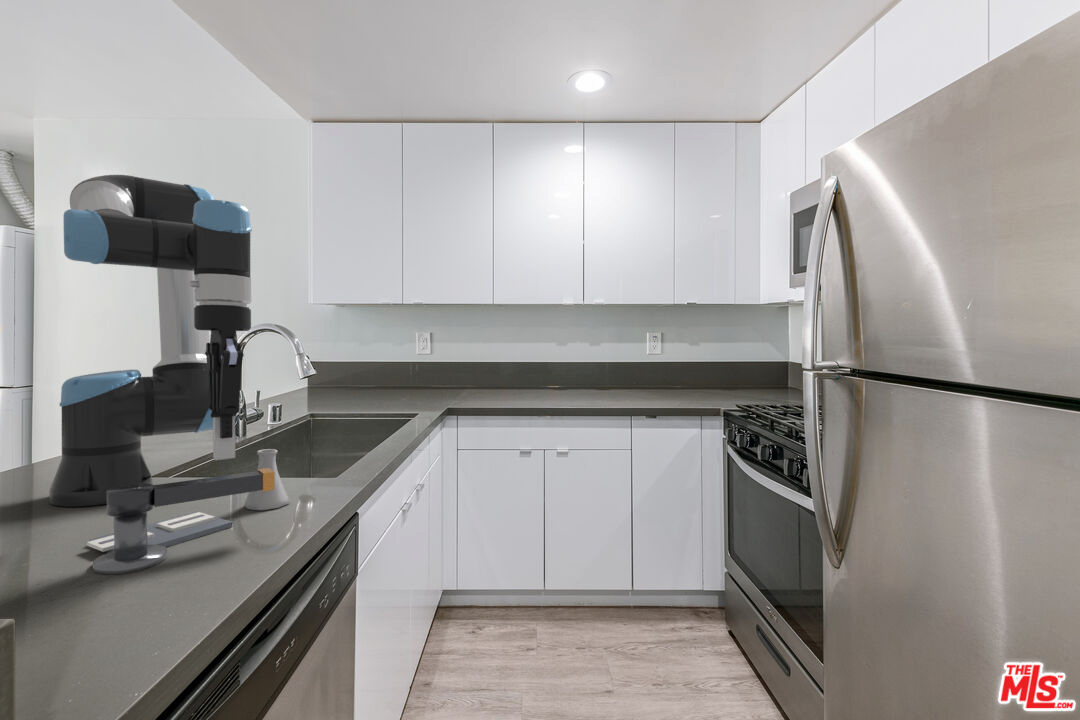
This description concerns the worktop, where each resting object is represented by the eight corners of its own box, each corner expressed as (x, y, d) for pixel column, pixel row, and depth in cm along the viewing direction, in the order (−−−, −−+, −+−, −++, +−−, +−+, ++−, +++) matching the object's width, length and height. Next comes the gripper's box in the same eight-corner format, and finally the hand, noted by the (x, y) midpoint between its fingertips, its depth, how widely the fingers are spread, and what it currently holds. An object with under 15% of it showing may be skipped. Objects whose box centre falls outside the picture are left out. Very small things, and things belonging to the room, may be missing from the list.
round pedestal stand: (80, 566, 72) (80, 517, 71) (148, 546, 79) (147, 501, 78) (111, 579, 68) (111, 528, 68) (179, 557, 75) (179, 511, 75)
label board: (79, 547, 78) (79, 538, 78) (196, 516, 92) (196, 507, 92) (115, 562, 73) (115, 552, 73) (232, 526, 87) (232, 518, 87)
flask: (259, 514, 94) (259, 456, 93) (236, 506, 98) (236, 451, 97) (297, 503, 100) (297, 449, 99) (274, 497, 104) (274, 445, 103)
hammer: (108, 519, 70) (108, 496, 69) (105, 509, 73) (105, 487, 73) (276, 491, 83) (276, 472, 83) (266, 484, 87) (266, 466, 87)
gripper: (186, 305, 86) (187, 454, 86) (203, 301, 76) (205, 469, 77) (239, 308, 91) (240, 449, 91) (261, 304, 81) (262, 462, 82)
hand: (224, 458), depth 84 cm, fingers closed
